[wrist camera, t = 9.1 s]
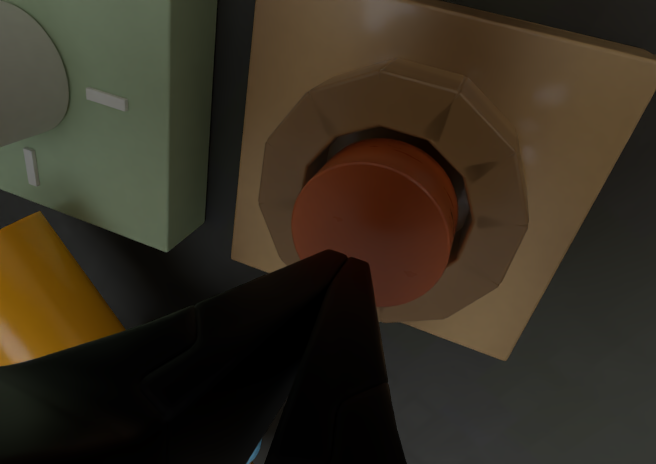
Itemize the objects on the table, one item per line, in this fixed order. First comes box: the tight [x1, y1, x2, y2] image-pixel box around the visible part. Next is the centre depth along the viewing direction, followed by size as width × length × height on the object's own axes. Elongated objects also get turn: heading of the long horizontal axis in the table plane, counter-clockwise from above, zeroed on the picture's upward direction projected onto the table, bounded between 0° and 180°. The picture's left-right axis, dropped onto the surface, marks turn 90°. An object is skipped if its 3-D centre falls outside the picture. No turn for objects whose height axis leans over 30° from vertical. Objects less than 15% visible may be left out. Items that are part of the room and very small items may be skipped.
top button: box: [291, 138, 458, 307], centre depth 11 cm, size 4×4×2 cm
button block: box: [231, 0, 656, 361], centre depth 13 cm, size 10×9×4 cm
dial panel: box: [0, 0, 217, 252], centre depth 16 cm, size 11×10×3 cm
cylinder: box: [0, 211, 262, 464], centre depth 18 cm, size 12×10×15 cm
